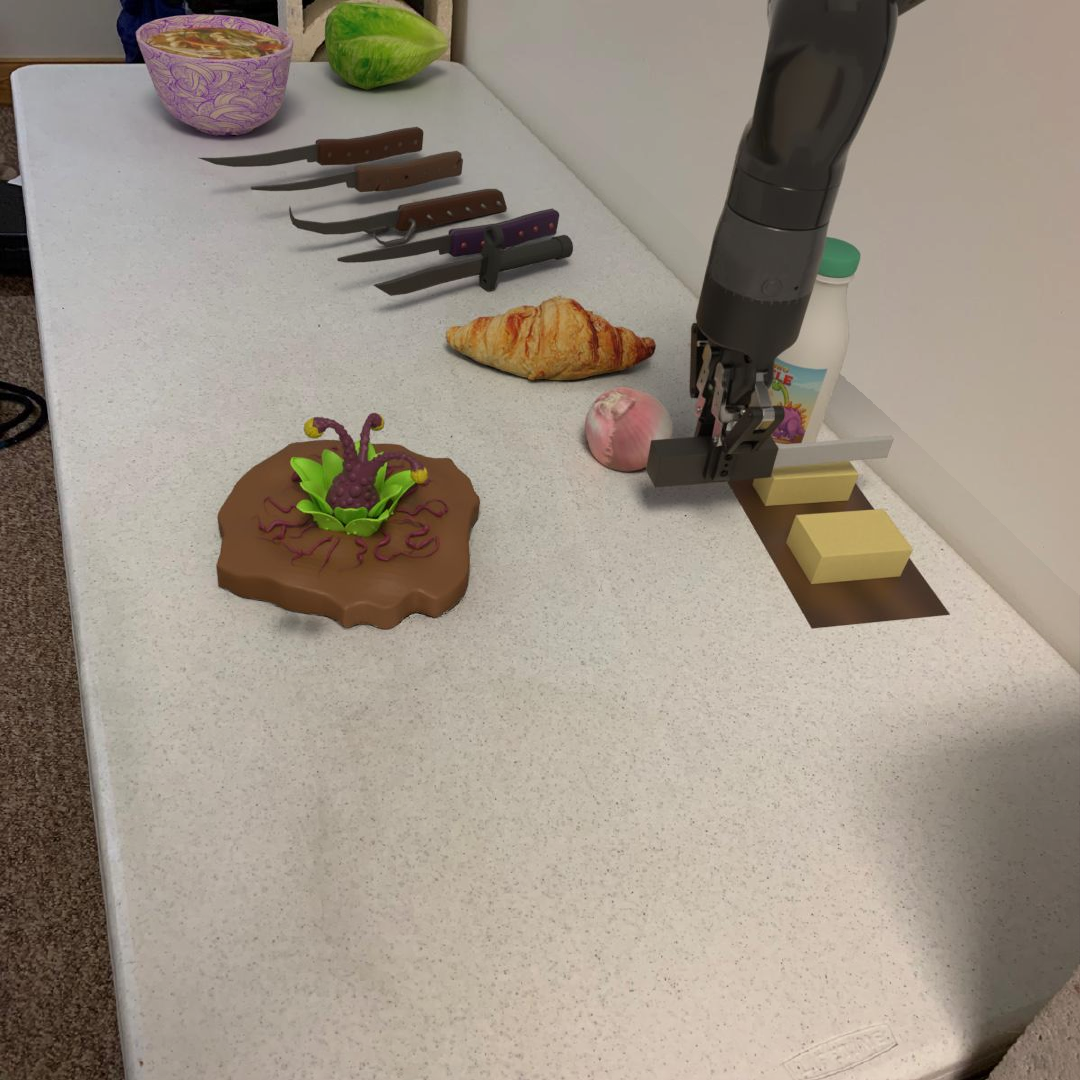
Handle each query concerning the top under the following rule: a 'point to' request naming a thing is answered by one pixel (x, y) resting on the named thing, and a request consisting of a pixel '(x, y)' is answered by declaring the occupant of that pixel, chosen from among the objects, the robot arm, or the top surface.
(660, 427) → the onion
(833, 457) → the butter knife
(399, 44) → the lettuce
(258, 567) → the plant
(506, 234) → the knife set
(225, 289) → the top surface
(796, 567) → the butter board
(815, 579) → the butter block
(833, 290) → the milk bottle
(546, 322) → the croissant
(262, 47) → the bowl of food
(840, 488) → the butter slice
